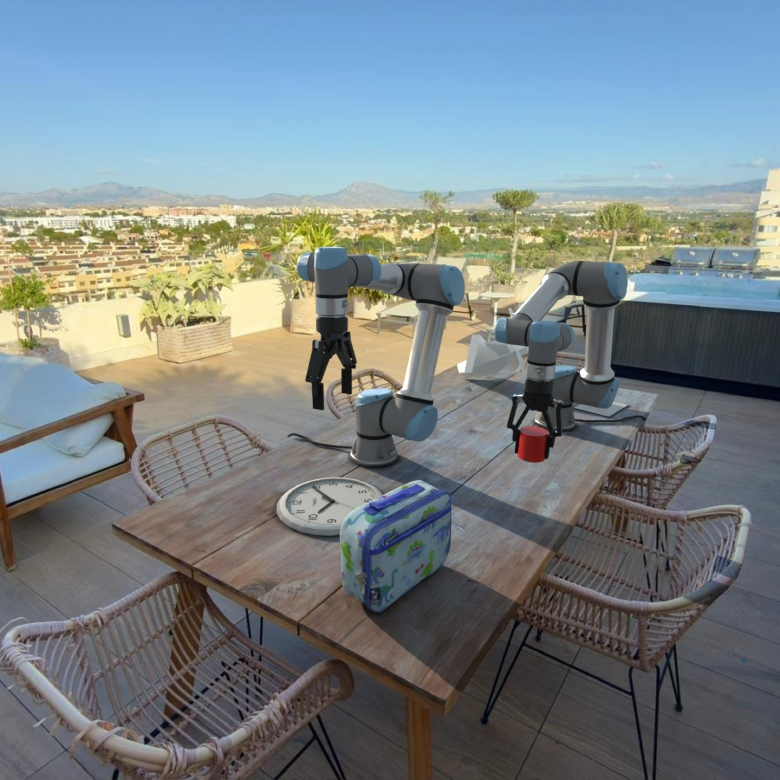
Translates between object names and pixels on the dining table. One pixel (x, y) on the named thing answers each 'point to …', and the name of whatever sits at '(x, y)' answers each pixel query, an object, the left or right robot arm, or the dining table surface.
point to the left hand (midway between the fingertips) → (333, 401)
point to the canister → (532, 444)
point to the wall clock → (323, 504)
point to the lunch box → (394, 543)
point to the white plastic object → (490, 357)
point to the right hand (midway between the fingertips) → (531, 454)
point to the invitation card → (606, 412)
